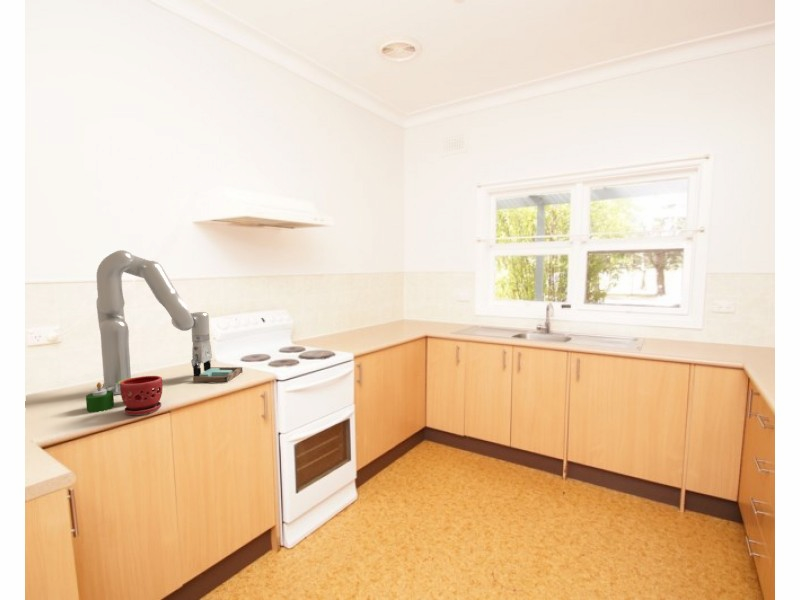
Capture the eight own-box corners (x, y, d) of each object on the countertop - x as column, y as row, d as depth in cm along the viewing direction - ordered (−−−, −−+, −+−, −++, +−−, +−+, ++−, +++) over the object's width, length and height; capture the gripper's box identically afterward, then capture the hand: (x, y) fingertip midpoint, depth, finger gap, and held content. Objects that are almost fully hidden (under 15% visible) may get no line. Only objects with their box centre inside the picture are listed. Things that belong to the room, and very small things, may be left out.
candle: (101, 412, 149) (100, 385, 148) (81, 412, 150) (79, 385, 149) (119, 404, 157) (117, 379, 156) (99, 404, 158) (97, 379, 157)
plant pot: (171, 407, 154) (170, 376, 153) (138, 419, 142) (136, 386, 141) (147, 403, 159) (146, 373, 158) (113, 414, 147) (111, 382, 146)
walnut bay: (227, 382, 186) (226, 377, 186) (193, 382, 186) (193, 377, 186) (242, 372, 204) (242, 367, 204) (211, 372, 204) (211, 367, 204)
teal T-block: (225, 380, 189) (225, 374, 189) (199, 380, 189) (199, 374, 189) (236, 373, 201) (235, 367, 201) (211, 373, 201) (211, 367, 201)
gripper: (199, 341, 185) (201, 378, 186) (217, 335, 202) (218, 368, 204) (183, 341, 185) (185, 378, 186) (201, 335, 202) (203, 369, 204)
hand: (202, 373), depth 195 cm, fingers open, 9 cm apart
